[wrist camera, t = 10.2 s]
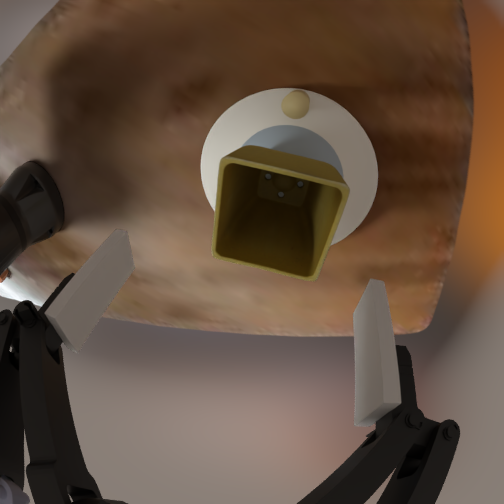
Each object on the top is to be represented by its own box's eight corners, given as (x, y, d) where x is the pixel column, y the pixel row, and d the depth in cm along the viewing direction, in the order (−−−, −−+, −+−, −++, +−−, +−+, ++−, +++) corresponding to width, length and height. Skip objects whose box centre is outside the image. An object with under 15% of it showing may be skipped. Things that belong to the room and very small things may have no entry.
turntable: (206, 230, 35) (186, 263, 29) (208, 80, 23) (179, 85, 18) (350, 257, 32) (354, 296, 27) (392, 109, 21) (414, 122, 16)
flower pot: (341, 149, 24) (353, 187, 17) (317, 226, 29) (315, 284, 22) (249, 127, 24) (219, 155, 17) (237, 206, 30) (210, 258, 23)
